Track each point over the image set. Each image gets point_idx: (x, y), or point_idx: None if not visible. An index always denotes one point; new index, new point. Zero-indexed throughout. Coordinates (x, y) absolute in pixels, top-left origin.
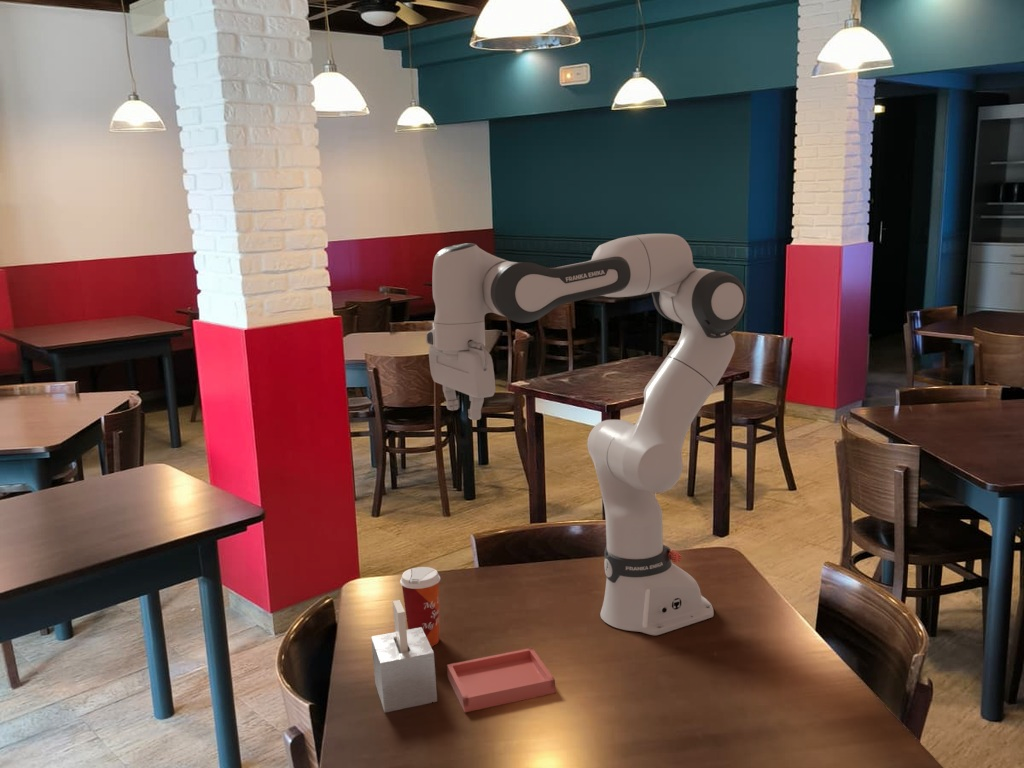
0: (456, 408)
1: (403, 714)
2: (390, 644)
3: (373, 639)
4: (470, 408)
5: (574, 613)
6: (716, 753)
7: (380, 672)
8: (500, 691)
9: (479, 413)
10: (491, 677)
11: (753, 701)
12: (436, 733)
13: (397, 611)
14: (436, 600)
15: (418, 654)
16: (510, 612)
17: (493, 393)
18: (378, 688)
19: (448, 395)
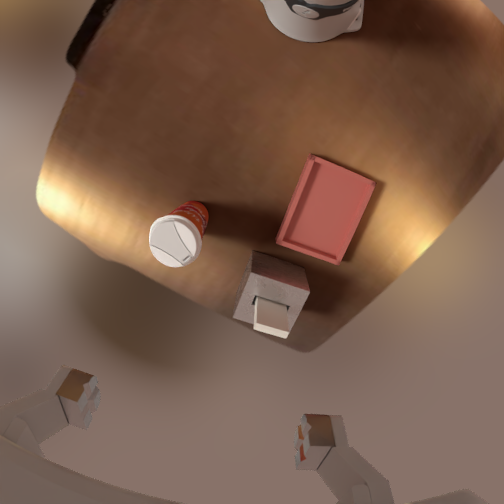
0: (94, 383)
1: None
2: None
3: (240, 319)
4: (326, 478)
5: (253, 47)
6: (496, 159)
7: None
8: (353, 233)
9: (342, 435)
10: (315, 214)
11: (480, 81)
12: (341, 291)
13: (282, 337)
14: (199, 223)
15: (301, 303)
16: (196, 101)
17: (477, 497)
18: None
19: (49, 429)
